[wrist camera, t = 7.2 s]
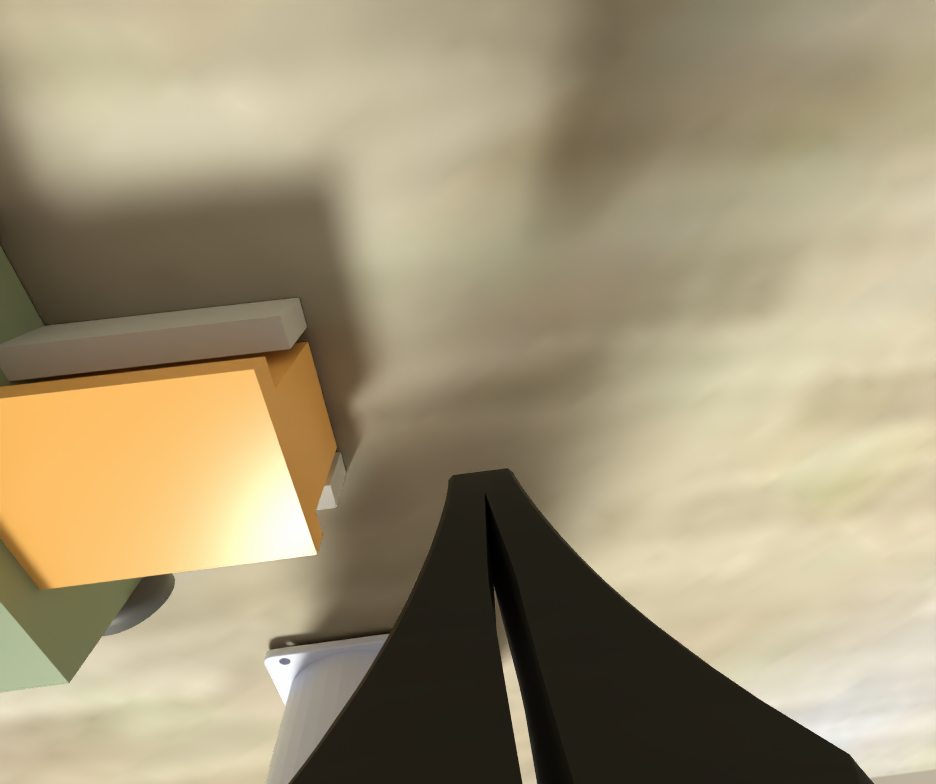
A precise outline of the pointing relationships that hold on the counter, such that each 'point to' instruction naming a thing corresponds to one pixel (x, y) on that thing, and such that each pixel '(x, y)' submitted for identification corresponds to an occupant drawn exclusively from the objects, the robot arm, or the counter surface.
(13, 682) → the mower housing
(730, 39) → the counter surface
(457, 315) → the counter surface
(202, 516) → the orange slab
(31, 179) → the counter surface
